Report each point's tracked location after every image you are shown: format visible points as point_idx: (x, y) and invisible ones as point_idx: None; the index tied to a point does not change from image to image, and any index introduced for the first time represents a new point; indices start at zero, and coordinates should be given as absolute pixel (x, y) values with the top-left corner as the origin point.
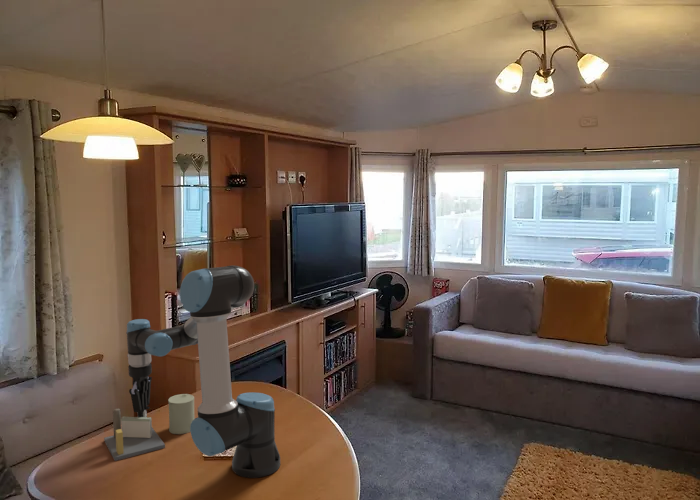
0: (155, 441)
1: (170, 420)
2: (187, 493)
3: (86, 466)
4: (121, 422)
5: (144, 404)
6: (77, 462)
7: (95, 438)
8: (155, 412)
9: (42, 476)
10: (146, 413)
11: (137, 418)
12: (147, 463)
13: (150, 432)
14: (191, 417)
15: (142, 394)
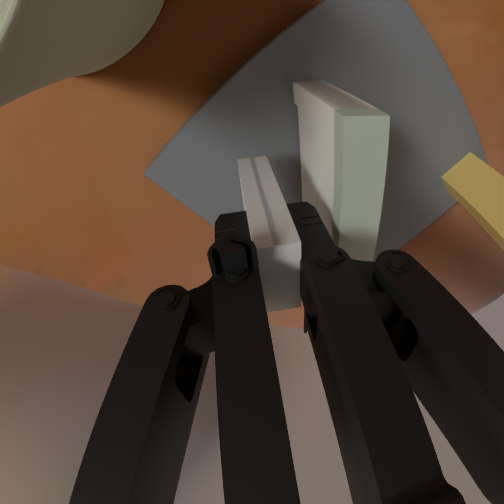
0: (352, 31)
1: (121, 22)
2: None
3: (487, 235)
4: None
5: (267, 319)
6: (458, 272)
7: (296, 326)
8: (9, 263)
9: (493, 294)
10: (253, 221)
11: (369, 238)
12: (499, 28)
13: (328, 86)
14: None
15: (427, 476)
